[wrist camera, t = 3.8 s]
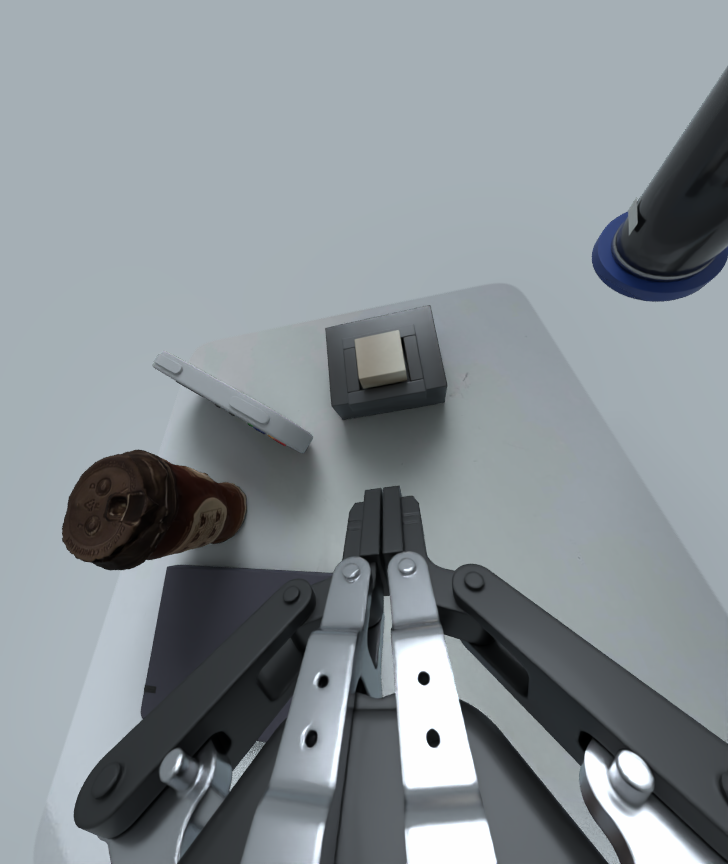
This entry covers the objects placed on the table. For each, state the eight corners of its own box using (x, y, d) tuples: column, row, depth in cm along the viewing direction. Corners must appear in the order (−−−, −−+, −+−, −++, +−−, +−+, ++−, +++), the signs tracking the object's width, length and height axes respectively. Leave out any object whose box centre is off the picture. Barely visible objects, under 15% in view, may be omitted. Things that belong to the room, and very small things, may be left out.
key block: (429, 329, 34) (430, 291, 28) (446, 411, 31) (451, 386, 25) (336, 349, 36) (319, 316, 30) (343, 428, 33) (326, 408, 27)
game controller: (191, 390, 38) (130, 356, 30) (201, 375, 38) (144, 338, 31) (313, 462, 32) (277, 443, 24) (324, 443, 33) (292, 419, 25)
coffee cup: (273, 511, 32) (177, 504, 19) (218, 573, 31) (81, 607, 19) (226, 458, 34) (116, 423, 22) (174, 514, 34) (31, 510, 21)
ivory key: (400, 342, 28) (399, 329, 26) (407, 381, 27) (405, 370, 25) (359, 351, 28) (354, 338, 27) (363, 389, 27) (358, 379, 25)
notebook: (376, 575, 28) (178, 564, 32) (373, 578, 26) (166, 566, 30) (375, 746, 24) (152, 710, 28) (372, 761, 23) (137, 720, 27)
